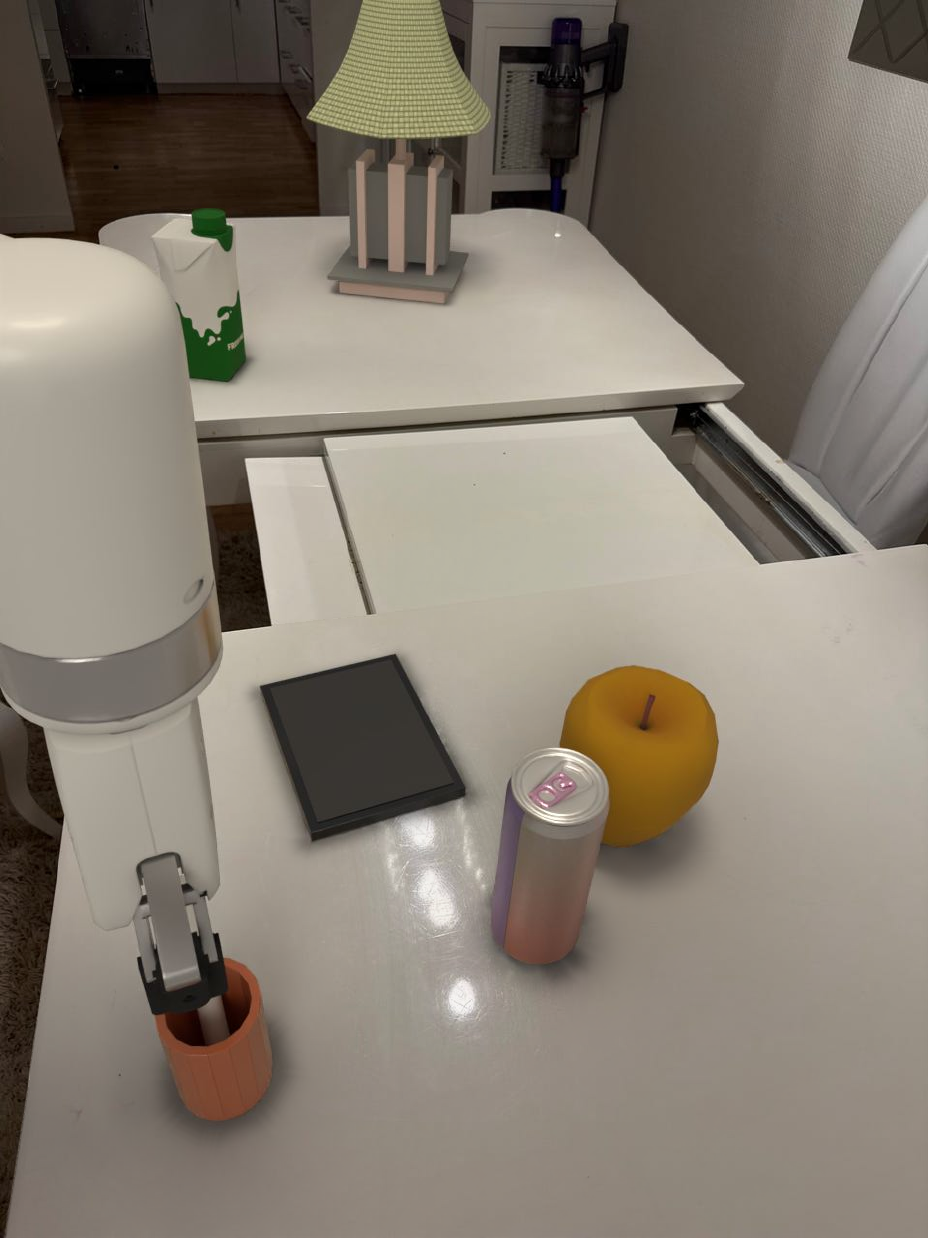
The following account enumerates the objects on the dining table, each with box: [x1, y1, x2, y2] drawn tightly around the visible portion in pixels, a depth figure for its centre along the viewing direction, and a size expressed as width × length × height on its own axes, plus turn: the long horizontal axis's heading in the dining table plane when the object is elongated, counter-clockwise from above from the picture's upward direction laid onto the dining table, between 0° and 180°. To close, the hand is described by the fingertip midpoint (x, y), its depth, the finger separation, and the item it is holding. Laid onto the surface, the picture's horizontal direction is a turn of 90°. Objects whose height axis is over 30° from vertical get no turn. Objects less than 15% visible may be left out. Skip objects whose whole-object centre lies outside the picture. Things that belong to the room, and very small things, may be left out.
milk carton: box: [150, 207, 247, 382], centre depth 118 cm, size 9×9×20 cm
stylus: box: [179, 874, 230, 1047], centre depth 51 cm, size 1×1×13 cm
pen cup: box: [154, 957, 274, 1122], centre depth 51 cm, size 5×5×8 cm
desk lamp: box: [305, 0, 492, 304], centre depth 139 cm, size 26×28×40 cm
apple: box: [559, 664, 720, 849], centre depth 65 cm, size 11×11×13 cm
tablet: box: [259, 653, 467, 842], centre depth 74 cm, size 12×16×1 cm
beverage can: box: [490, 746, 610, 965], centre depth 57 cm, size 6×6×15 cm
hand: (171, 904), depth 43 cm, fingers open, 9 cm apart
